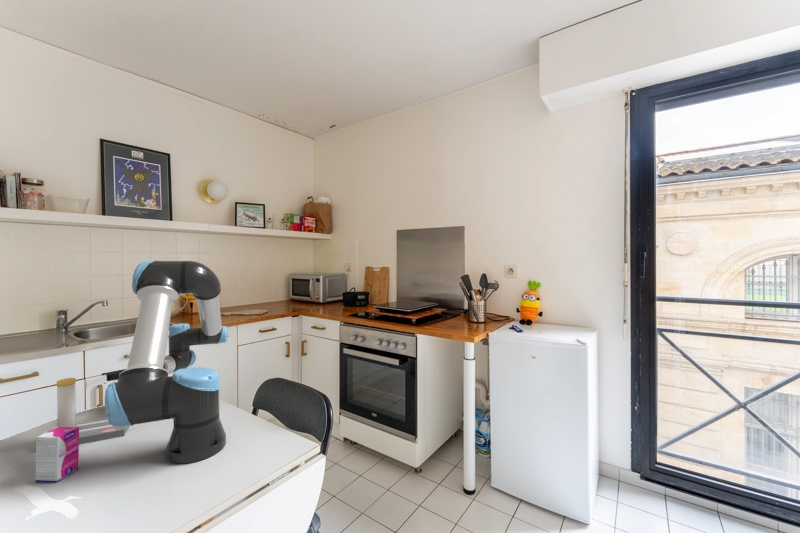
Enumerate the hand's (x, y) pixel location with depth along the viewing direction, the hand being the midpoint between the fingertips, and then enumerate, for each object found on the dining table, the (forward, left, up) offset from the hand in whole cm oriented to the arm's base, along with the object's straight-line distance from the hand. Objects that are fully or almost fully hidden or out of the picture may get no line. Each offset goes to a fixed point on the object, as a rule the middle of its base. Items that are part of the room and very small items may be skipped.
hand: (101, 386), depth 114 cm
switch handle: (-8, +6, -11) cm, 15 cm away
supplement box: (-30, +1, -13) cm, 33 cm away
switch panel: (-8, +1, -13) cm, 15 cm away
